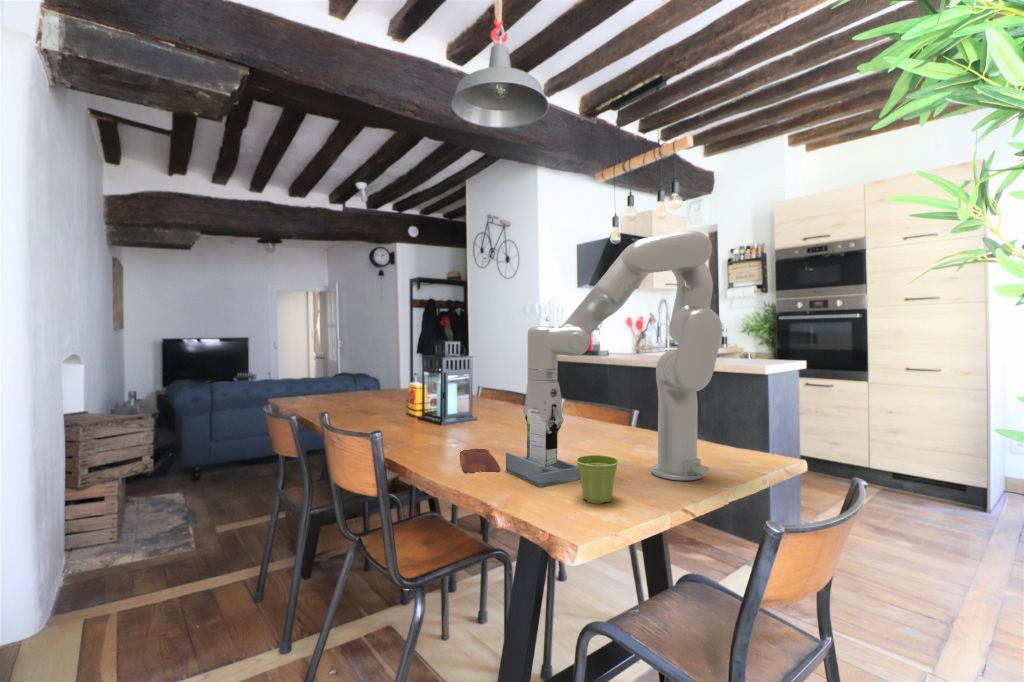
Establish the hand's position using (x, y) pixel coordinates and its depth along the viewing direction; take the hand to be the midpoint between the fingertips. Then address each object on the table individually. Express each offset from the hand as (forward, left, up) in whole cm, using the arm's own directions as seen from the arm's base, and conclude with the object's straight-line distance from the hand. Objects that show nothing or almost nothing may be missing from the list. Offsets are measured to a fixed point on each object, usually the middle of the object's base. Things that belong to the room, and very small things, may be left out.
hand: (542, 445), depth 129 cm
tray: (0, 0, -8) cm, 8 cm away
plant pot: (-21, 0, -8) cm, 22 cm away
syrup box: (0, 0, -5) cm, 5 cm away
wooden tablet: (+22, +7, -8) cm, 25 cm away
